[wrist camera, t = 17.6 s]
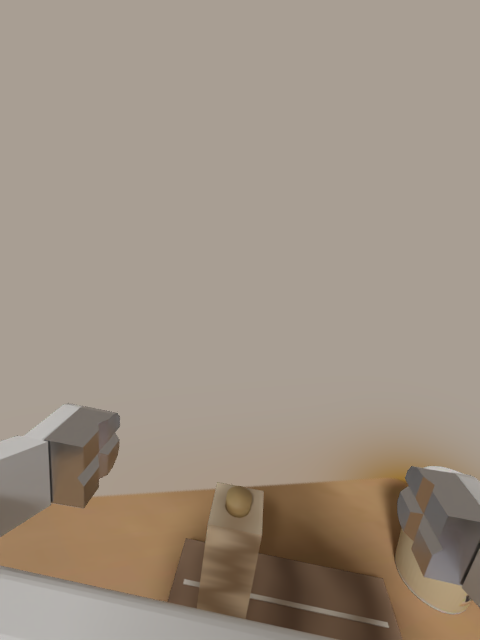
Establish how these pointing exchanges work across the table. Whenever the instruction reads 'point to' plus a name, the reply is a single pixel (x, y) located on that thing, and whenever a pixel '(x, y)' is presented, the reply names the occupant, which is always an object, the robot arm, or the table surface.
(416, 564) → the coffee cup
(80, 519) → the table surface
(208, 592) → the beige tall block
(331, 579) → the board
